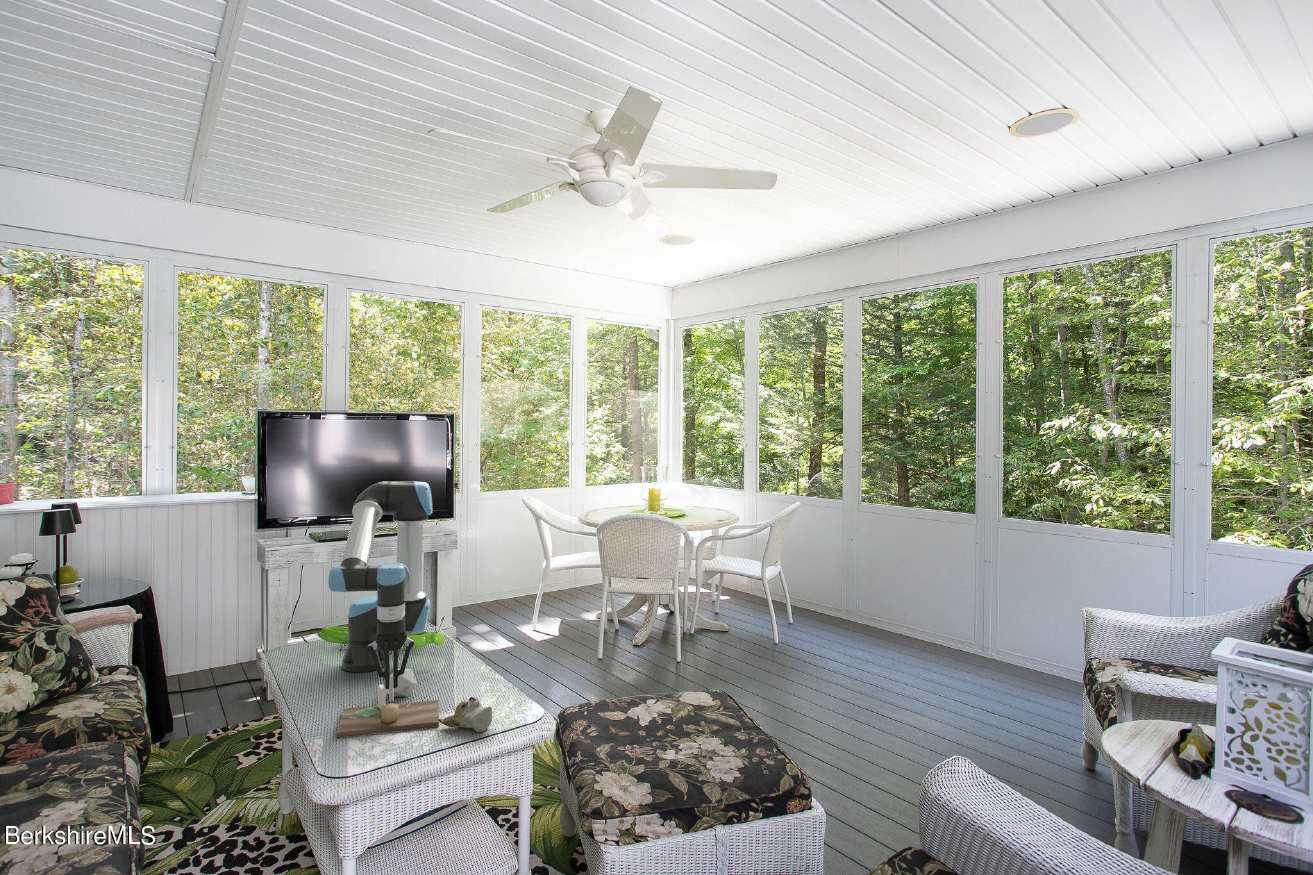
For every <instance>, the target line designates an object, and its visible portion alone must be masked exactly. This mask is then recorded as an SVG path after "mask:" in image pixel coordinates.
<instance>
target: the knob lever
mask: <svg viewBox="0 0 1313 875" xmlns="http://www.w3.org/2000/svg"><path fill="white" fill-rule="evenodd" d="M377 685H378V686H377V687H378V688H377V706H378V707H379V708H380V710H381V721H382V722H384V723H391V722H395V721H397V720H398V708H399V705H398V704H399V703H396V702H395V703H393V702H392V703H387V701H386V700H387V699H386V698H387V697H386V696H387V689H386V688H385V685H384V684H377Z"/></svg>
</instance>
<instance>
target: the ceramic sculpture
mask: <svg viewBox="0 0 1313 875" xmlns="http://www.w3.org/2000/svg"><path fill="white" fill-rule="evenodd" d="M438 721H439V723H441V724H442V725H444V726H446V727H448V728H457V727H460V728H463V729H473V730H474V731H475V732H476V733H483V732H485V731H487V730H488V728H489V727H490V726H491V724H492V721H493V708H492V706H491V705H490V706H483V705H482V704H481V702H480V701H479V699H478V698H476V697H473V696H470V697H469V699H465V700H463V701H461V702H459V703H458V704H457V705H456V707H455V711H454V714H453V715H449V716H446V717H444V718H439V719H438Z"/></svg>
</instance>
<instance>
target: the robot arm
mask: <svg viewBox="0 0 1313 875" xmlns="http://www.w3.org/2000/svg"><path fill="white" fill-rule="evenodd" d="M432 498H433V497H432V490H431V487H430V485H429V483H428V482H425V481H415V480H412V481H411V480H410V481H408V480H407V481H405V480H403V481H402V480H400V481H397V480H395V481H391V480H390V481H387V480H386V481H385V480H383V481H379V482H376V483H374V484H371V485H370V486H368V487H367V488H365V489H364V490H362V492H361V493H360V494H359V495H358V497H357V498H356V500H354V503H353V506H352V510H351V512H352V516H353V518H352V522H351V526H350V530H349V533H348V536H347V541H346V544H345V547H344V550H343V555H342V558H341V562H340V565H335V566H332V567H331V568H330V570H329V573H328V579H327V580H328V583H327V584H328V588H329V590H330V591H331V592H335V593H337V592H338V593H350V592H353V593H354V592H377V593H376V595H371V596H370V595H369V596H366V597H362V598H358V599H357V600H354V601H353V602H351V603H350V605H349V607H348V608H349V609H348V615H347V617H348V620H347V621H348V622H347V623H348V624H347V626H348V629H347V630H348V631H347V646H346V648H345V651H344V654H343V656H342V658H341V659H342V660H341V670H343V671H346V672H349V673H350V672H351V673H365V672H371V671H372V672H373V671H376V672H377V673H376V674H377V676H378V677H379V678H384V683H385V685H384V687H385V688H386V690H388V689H389V690H388V692H389V702H394V699H395V696H394V688H397V687H398V676H399V675H403V674H404V672H405V669H407V665H408V664H407V663H408V660H409V656H410V653H411V650H412V648H413V647H414V645H415V639H413V638H412V639H411V638H409V637H408V635H409V634H410V635H413V634H421V633H423V632H424V631H425V630H426V627H427V624H428V619H429V613H430V606H431V600H430V598H427V593H426V592H424V591H423V556H424V555H423V552H424V524H425V523H427V521H428V519H429V516H430V515H432V514H433V499H432ZM383 515H389V516H391V515H392V521H393V522H394V523H395V524H396V525H397V530H396V531H397V538H396V562H394V563H387V564H383V565H369V560H370V555H371V552H372V547H373V544H374V539H375V535H376V530H377V526H378V522H379V520H381V519H382V517H383ZM407 634H408V635H407ZM404 643H405V649H404V650H405V651H404V654H403V657H402V662H401V665H400V668H399V650H400V649H402V646H403V645H404ZM390 652H393V655H392V656H393V657H392V658H393V662H392V663H393V664H392V665H393V667H392V669H393V670H392V672H393V675H391V667H390V666H391V665H390V664H391V662H390V660H391V659H390V658H391V657H390ZM383 668H384V669H383ZM398 669H400V670H398ZM390 675H391V676H390Z"/></svg>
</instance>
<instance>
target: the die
mask: <svg viewBox="0 0 1313 875" xmlns="http://www.w3.org/2000/svg"><path fill="white" fill-rule="evenodd" d="M398 670H400V668H398ZM391 675H393V671H392V672H391V673H390V676H391ZM417 684H418V682H417V678H416V677H415V674H414V672H413V669H412V668H405V672H404V674H403V675H399V676H398V687H397V688H394V697H399V698H400V697H402V698H403V697H404V698H405V697H407V698H408V697H409V696H410V694H411V692H412V691H413V689H414V688H415V687H416V685H417ZM387 690H388V691H389V689H387Z"/></svg>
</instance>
